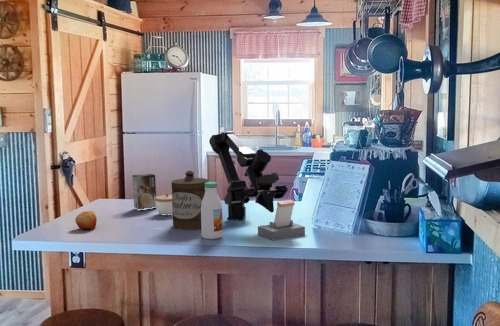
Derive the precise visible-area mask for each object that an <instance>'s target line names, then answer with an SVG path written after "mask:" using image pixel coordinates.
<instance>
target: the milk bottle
mask: <svg viewBox="0 0 500 326" xmlns="http://www.w3.org/2000/svg"><path fill="white" fill-rule="evenodd" d="M223 222H224V221H223V205H222V200H221V199H220V196H219V194H218V182H215V181H208V182H206V183H205V195H204V198H203V200H202V203H201V229H200V230H201V238H203V239H206V240H217V239H221V238H223V235H224V230H223V228H224V227H223V226H224V223H223Z"/></svg>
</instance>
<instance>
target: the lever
mask: <svg viewBox="0 0 500 326" xmlns="http://www.w3.org/2000/svg"><path fill="white" fill-rule="evenodd" d="M276 205H277V206H276V210H275V215H274V216H275V217H274V221H273V223H275V228H276V227H282V226H289V225H290V220H292V214H293V211H294V206H295V201H293V200H292V199H285V200H279V201H277V203H276Z"/></svg>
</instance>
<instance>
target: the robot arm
mask: <svg viewBox="0 0 500 326" xmlns="http://www.w3.org/2000/svg"><path fill="white" fill-rule="evenodd" d="M209 145H210V147H211V149H212V151H213V153H215V154H217V155H218V158H219V159H220V164H221V166H222V169H223V171H224V174H225V178H226V180H227V188H226V192H227V193H226V195H225V197H224V198H223V199H224V204H225V205H227V212H228V216H227V217H226V219H227V220H244V219H245V217H247V215H246V209H247V208H246V206H245V204H248V203H249V202H250V198H255V201H254V203H256V204H258V205H260V206H262V207H263V208H264V209H265V210H267V211H268V212H270V213H271V214H272V213H274V212H275V207H274V206H275V205H274V199H282V198H283V197H284V196H285V195H286V193H287V192H288V190H289V189H288V187H287V185H286V184H277V185H276V186H275V187H274V188H272V187H273V184H275V183H277V181H279V180H280V178H279V175H278V173H277V172H272V173H270V174H264V173H263V172H264V171H265V170H266V169H267V167H268V165H269V164H270V163H271V160H272V157H271V155H270V154H269V153H268V152H266V151H264V149H257V150H256V151H254V150H253V149H251V148H248V147H246V146H245V144H243V142H242V141H241V140H240V139H239V138H238V137H237V136H236V133H235V132H234V131H233V130H231V131H223V132H221V133H218V134H217V133H216V134H211V137H209ZM230 149H231V150H232V151H233V152H234V153H235V155H236V161H237V163H238V165H239V166H240V167H241V168H246V167H247V168H246V169H245V172H244V177H248V180H249V181H250V185H249V186H250V188H248V185H247V182H246V181H245V180H241V179H240V178H239V175H238V172H237V169H236V166H235V163H234V161H233V158H232V154H231V152H230ZM271 188H272V189H271Z"/></svg>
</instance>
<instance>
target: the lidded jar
mask: <svg viewBox="0 0 500 326" xmlns="http://www.w3.org/2000/svg"><path fill="white" fill-rule="evenodd" d="M155 205H156V209H155V210H157V211H156V212H158V213H159V214H160V215H161V214H166V215H168V214H172V194H169V193H167V192H166V193H165V194H163V195H156V197H155Z"/></svg>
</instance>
